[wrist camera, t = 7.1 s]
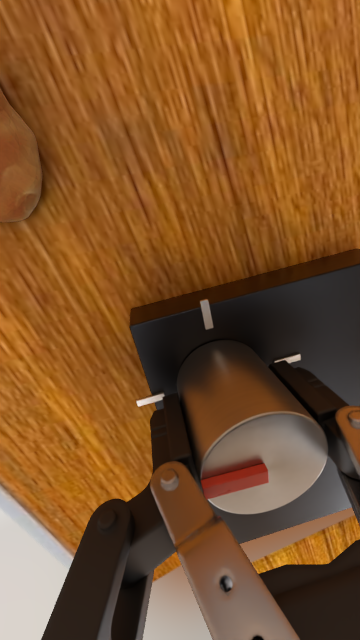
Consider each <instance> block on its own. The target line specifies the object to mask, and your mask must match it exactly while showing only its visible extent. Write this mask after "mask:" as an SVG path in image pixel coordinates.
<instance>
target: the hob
mask: <svg viewBox="0 0 360 640" xmlns="http://www.w3.org/2000/svg"><path fill="white" fill-rule="evenodd" d="M129 327H130V330H131V333H132V336H133V339H134V342H135V345H136V348H137V351H138V354H139V357H140V361H141V364H142V367H143V370H144V373H145V376H146V379H147V382H148V385H149V388H150V391H151V394H152V395H149V396H146V397H143V398H139V399H136V402H137V405H138V407H139V406H142V405H146V404H149V403H153V402H154V403H155V406H156V409H157V410H160V409H163V408H164V406H163V398H162V397H163V396H167V395H170V394H173V393H178V390H177V377H178V373H179V370H180V368H181V366H182V364H183V363H184V361H185V360H186V358H187V357H188V356H189V355H190V354H191V353H192V352H193V351H195V350H196V349H197V348H199V347H201V346H203V345H205V344H207V343H210V342H213V341H218V340H233V341H238V342H240V343H243V344H245V345H247V346H248V347H250V348H251V349H252V350H253V351H254V352H255V353H256V354H257V355H258V356H259V358H260V359H261V360H262V361H263V362H264V363H265V364H266V365H267V367H268V368H269V364H272V363H276V362H279V361H282V360H286V361H287V362H288V363H289V364H290V365H291V366H292V367H293V368H297V367H301V368H303V369H306V370H308V371H310V372H312V373H313V374H314V375H315V376H316V377H317V378H318V379H320V380H321V381H322V382H323V383H324V384H325V385H327V386H328V387H329V388H330V389H331V390H332V391H334V392H335V393H336V394H337V395H338V396H339V397H340V398H342V399H343V400H344V401H345V402H346V403H347V404H349V405H350V406H360V249H354V250H350V251H346V252H343V253H339V254H335V255H332V256H328V257H324V258H320V259H317V260H313V261H309V262H305V263H302V264H298V265H294V266H290V267H287V268H283V269H279V270H275V271H272V272H268V273H264V274H260V275H257V276H253V277H249V278H245V279H242V280H238V281H234V282H230V283H227V284H223V285H219V286H216V287H212V288H208V289H204V290H201V291H197V292H193V293H189V294H186V295H182V296H178V297H174V298H171V299H167V300H163V301H159V302H156V303H152V304H148V305H144V306H141V307H137V308H133V309H131V313H130V326H129ZM178 396H179V394H178ZM179 399H180V398H179ZM207 501H208V502H209V504H210V506H211V507H212V509H213V510H214V512H215V514H216V515H217V516H220V517H221V518H222V519H223V520H224V521H225V523H226V524H227V526H228V527H229V529H230V530H231V532H232V534H233V535H234V537H235V538H236V540H237V541H238V543H239V544H241V543H244V542H247V541H250V540H253V539H256V538H259V537H262V536H265V535H269V534H272V533H274V532H278V531H281V530H284V529H287V528H290V527H293V526H296V525H299V524H302V523H305V522H308V521H312V520H314V519H318V518H321V517H324V516H327V515H330V514H333V513H336V512H339V511H342V510H345V509H348V508H351V507H352V506H351V503H350V501H349V499H348V496H347V494H346V491H345V489H344V487H343V484H342V482H341V479H340V477H339V475H338V472H337V465H336V464H335V463H334V462H333V461H332V459H331V458H328V459H327V461H326V464H325V466H324V468H323V470H322V472H321V474H320V475H319V477H318V478H317V480H316V481H315V482H314V483H313V484H312V485H311V487H310V488H308V489H307V490H306V491H305V492H304V493H303V494H301V495H300V496H299V497H297V498H296V499H294V500H293V501H291V502H289V503H287V504H285V505H283V506H281V507H279V508H276V509H273V510H270V511H266V512H262V513H256V514H236V513H231V512H227V511H224V510H222V509H220V508H218V507H216V506H215V505H213V504H212V503H211V502H210V501H209V500H208V499H207Z"/></svg>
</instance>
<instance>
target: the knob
mask: <svg viewBox="0 0 360 640" xmlns="http://www.w3.org/2000/svg"><path fill="white" fill-rule="evenodd" d="M177 390H178V394H179V398H180V403H181V407H182V411H183V415H184V420H185V424H186V428H187V432H188V437H189V441H190V445H191V449H192V454H193V458H194V462H195V466H196V471H197V475H198V479H199V483H200V487H201V490H202V492H203V494H204V496H205V498H206V499H208V500H209V501H210V502H211V503H212V504H213V505H215V506H216V507H218V508H220V509H222V510H224V511H227V512H231V513H236V514H256V513H262V512H266V511H270V510H273V509H276V508H279V507H281V506H283V505H285V504H287V503H289V502H291V501H293V500H294V499H296V498H297V497H299V496H300V495H301V494H303V493H304V492H305V491H306V490H307V489H308V488H310V487H311V485H312V484H313V483H314V482H315V481H316V480H317V478H318V477H319V475H320V474H321V472H322V470H323V468H324V466H325V464H326V461H327V457H328V441H327V437H326V435H325V432H324V430H323V429H322V427H321V426H320V425H319V424H318V423H317V421H316V420H315V419H314V418H313V417H312V416H311V415H310V414H309V413H308V411H307V410H306V409H305V408H304V407H303V406H302V405H301V404H300V402H299V401H298V400H297V399H296V398H295V397H294V396H293V395H292V393H291V392H290V391H289V390H288V389H287V388H286V387H285V386H284V384H283V383H282V382H281V381H280V380H279V379H278V378H277V377H276V376H275V374H274V373H273V372H272V371H271V370H270V369H269V368H268V367H267V365H266V364H265V363H264V362H263V361H262V360H261V359H260V358H259V356H258V355H257V354H256V353H255V352H254V351H253V350H252V349H251V348H250V347H248V346H247V345H245V344H243V343H240V342H238V341H233V340H218V341H213V342H210V343H207V344H205V345H203V346H201V347H199V348H197V349H196V350H195V351H193V352H192V353H191V354H190V355H189V356H188V357H187V358H186V360H185V361H184V363H183V364H182V366H181V368H180V370H179V373H178V377H177Z"/></svg>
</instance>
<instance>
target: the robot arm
mask: <svg viewBox="0 0 360 640" xmlns="http://www.w3.org/2000/svg"><path fill="white" fill-rule="evenodd" d="M269 369H270V370H271V371H272V372H273V373H274V374H275V376H276V377H277V378H278V379H279V380H280V381H281V382H282V383H283V384H284V386H285V387H286V388H287V389H288V390H289V391H290V392H291V393H292V395H293V396H294V397H295V398H296V399H297V400H298V401H299V402H300V404H301V405H302V406H303V407H304V408H305V409H306V410H307V411H308V413H309V414H310V415H311V416H312V417H313V418H314V419H315V420H316V421H317V423H318V424H319V425H320V426H321V427H322V429H323V430H324V432H325V435H326V437H327V441H328V457H327V459H328V458H331V459H332V461H333V462H334V463H335V464H336V465H337V472H338V475H339V477H340V479H341V482H342V484H343V487H344V489H345V491H346V494H347V496H348V499H349V501H350V503H351V506H352V508H353V511H354V513H355V515H356V518H357V520H358V523H359V526H360V406H350V405H349V404H347V403H346V402H345V401H344V400H343V399H342V398H340V397H339V396H338V395H337V394H336V393H335V392H334V391H332V390H331V389H330V388H329V387H328V386H327V385H325V384H324V383H323V382H322V381H321V380H320V379H318V378H317V377H316V376H315V375H314V374H313V373H312V372H310V371H308V370H306V369H303V368H301V367H297V368H293V367H292V366H291V365H290V364H289V363H288V362H287V361H286V360H282V361H279V362H276V363H272V364H269ZM162 398H163V406H164V408H163V409H160V410H156V411H154V413H153V415H152V417H151V420H150V426H151V442H152V459H153V474H152V477H151V480H150V482H149V484H148V485H147V487H146V488H145V489H144V490H143V491H142V492H141V493H140V494H138V495H137V496H135V497H134V498H132V499H131V500H129V501H128V502H127V503H126V502H125V501H123V500H121V499H112V500H109V501H107V502H105V503H103V504H102V505H101V506H99V507H98V508H97V509H96V510H95V512H94V513H93V514H92V516H91V518H90V520H89V522H88V524H87V527H86V529H85V532H84V534H83V537H82V539H81V542H80V544H79V547H78V549H77V552H76V554H75V557H74V559H73V562H72V564H71V567H70V569H69V572H68V574H67V577H66V579H65V582H64V584H63V587H62V589H61V592H60V594H59V597H58V599H57V602H56V604H55V607H54V609H53V612H52V614H51V617H50V619H49V622H48V624H47V627H46V629H45V631H44V634H43V637H42V639H41V640H142V639H143V633H144V627H145V621H146V615H147V609H148V604H149V598H150V592H151V586H152V580H153V574H154V569H155V568H156V567H157V566H159V565H160V564H161V563H162V562H164V561H165V560H166V559H167V558H169V557H170V556H171V555H172V554H173V553H175V552H177V555H178V557H179V559H180V562H181V564H182V567H183V569H184V571H185V574H186V576H187V579H188V581H189V583H190V586H191V588H192V591H193V593H194V595H195V598H196V600H197V603H198V605H199V608H200V610H201V612H202V615H203V617H204V620H205V622H206V624H207V627H208V629H209V632H210V634H211V636H212V639H213V640H360V540H357V541H355V542H354V543H353V544H352V545H350V546H349V547H348V548H347V549H346V550H345V551H343V552H342V553H341V554H340V555H339V556H338V557H336V558H335V559H334V560H333V561H332V562H330V563H329V564H324V565H284V566H281V567H278V568H275V569H272V570H269V571H266V572H263V573H260V574H258V573H257V571H256V570H255V568H254V567H253V565H252V563H251V562H250V560H249V559H248V557H247V556H246V554H245V553H244V551H243V549H242V548H241V546H240V545H239V543H238V541H237V540H236V538H235V537H234V535H233V534H232V532H231V530H230V529H229V527H228V526H227V524H226V523H225V521H224V520H223V519H222V518H221V517H220V516H217V515H216V514H215V512H214V510H213V509H212V507H211V506H210V504H209V502H208V501H207V499H206V498H205V496H204V494H203V492H202V490H201V487H200V483H199V479H198V475H197V471H196V466H195V462H194V458H193V454H192V449H191V445H190V441H189V437H188V432H187V428H186V424H185V420H184V415H183V411H182V407H181V403H180V399H179V396H178V393H173V394H170V395H167V396H163V397H162Z"/></svg>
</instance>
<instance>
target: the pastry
mask: <svg viewBox="0 0 360 640" xmlns="http://www.w3.org/2000/svg"><path fill="white" fill-rule="evenodd" d="M42 177H43V175H42V168H41V164H40V158H39V152H38V145H37V141H36V137H35V135H34V133H33V132H32V130H31V129H30V128H29V127H28V126H27V125H26V123H25V122H24V121H23V120H22V118H21V117H20V116H19V115H18V114H17V112H16V111H15V110H14V109H13V108H12V106H11V105H10V104H9V103H8V101H7V99H6V97H5V96H4V94H3V92H2V90H1V88H0V222H13V221H21V220H24V219H26V218H27V217H29V215H30V214H31V212H32V211H33V209H34V208H35V207H36V205H37V203H38V201H39V198H40V195H41V184H42Z"/></svg>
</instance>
